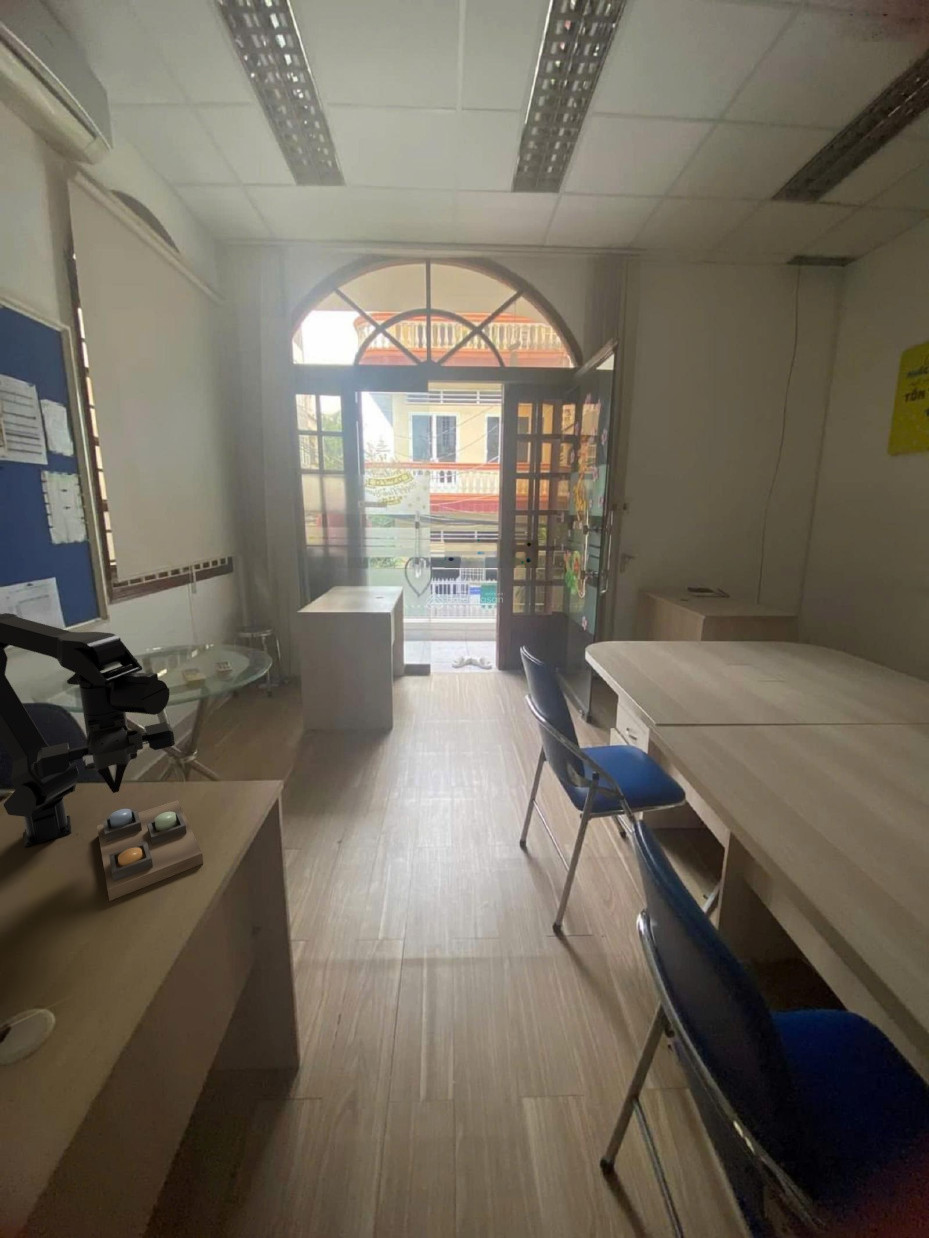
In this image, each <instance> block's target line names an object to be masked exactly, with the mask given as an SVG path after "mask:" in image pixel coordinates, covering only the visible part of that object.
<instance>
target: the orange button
mask: <svg viewBox="0 0 929 1238" xmlns="http://www.w3.org/2000/svg"><path fill="white" fill-rule="evenodd" d="M142 859H143V856H142V849H141V848H138V847H135V848H130V849H127V850H125V851H123V852H122V853H120V855H119V856H118V862H119V868H120V867H123V866H126V865H129V864H131V863H134V862H137V861H139V860H142Z"/></svg>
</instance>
